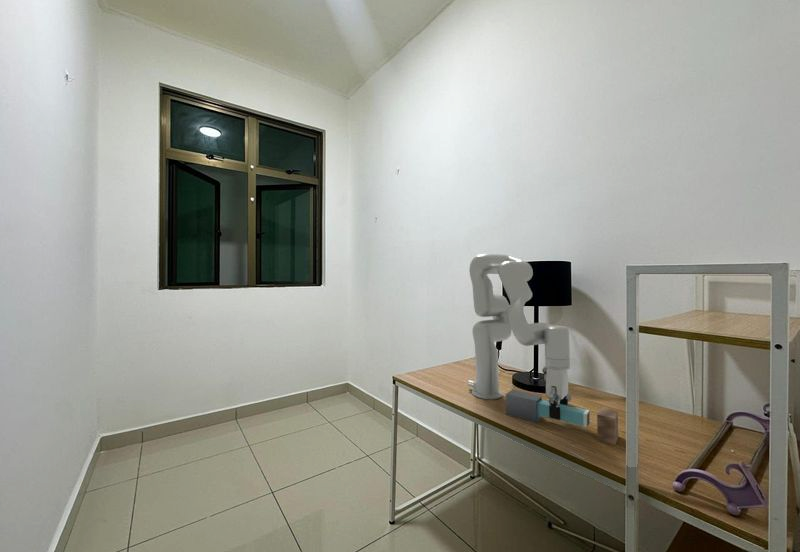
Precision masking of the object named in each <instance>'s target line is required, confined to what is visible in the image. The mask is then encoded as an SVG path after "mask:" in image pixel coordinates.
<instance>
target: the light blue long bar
mask: <svg viewBox="0 0 800 552" xmlns="http://www.w3.org/2000/svg"><path fill="white" fill-rule="evenodd" d="M559 407H560V420H559V421H561V422H564V423H569V424H571V425H572V424H573V425H576V426H580V427H584V428H588V427H589V426H590V422H591V420H590V419H591V418H590V415H591V414H590V410H589V409H583V408H580V407H575V406H570V405H568V406H567V405H562V404H559ZM537 415H540V416H542V417H544V418H549V419H551V418H550V417H549V400H544V399H542V400H538V401H537ZM555 420H557V419H555ZM557 421H558V420H557Z"/></svg>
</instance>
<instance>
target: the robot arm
mask: <svg viewBox="0 0 800 552" xmlns="http://www.w3.org/2000/svg"><path fill="white" fill-rule="evenodd" d="M488 275H498V278H499V279H500V281H501V283H502V286H503V288H504V291H505V293H506V295H507V297H508V299H509V301H508V300H507V297H505V296H504V295H501V294H495V293H494V287H493V283H492V280H491V279H490V277H489V276H488ZM533 275H534V272H533V268H532V266H531V264H530V263H529V262H527V261H526V260H522V259H520V258H516V257H513V256H512V255H508V254H499V253H497V254H496V253H482V254H477V255H476V256H475V257H473V258H472V260H471V261H470V265H469V276H470V281H471V285H472V296H473V297H472V299H473V308H474V312H475V315H476V316H478V317H482V318H486V317H487V318H489V317H492V319H485V320H483V319H482V320H480V321H477V322H476V323H475V324H474V325H473V327H472V336H473V337H472V338H473V342H474V355H475V356H474V358H475V360H474V361H475V366H474V367H475V368H474V369H475V381H473V380H471V379H470V380H468V382H467V386H468V387H471V388H472V390H471V393H472V395H473V396H475V398H476V397H477V398H478V399H483V400H498V399H501V398H502V397H503V395H504V394H503V391H502V390H500V389H499V387H500V385H499V382H500V381H499V379H500V378H499V352H498V349H497V347H496V344H495V343H496V342H504V341H507V340H508V339H510V338H511V335H512V334H513V336H514V337H515V339H516V340H517V342H518V343H519V344H520V345H522V346H526V347H530V346H538V345H544V367H547V373H546V381H545V397H546V398H548V399H549V400H548V401H549V417H550V418H549V419H552V420H556V419H557V421H560V407H559V404H562V405H567V406H569V402H568V399H567V393H568V392H569V376H568V370H570V369H571V357H570V356H571V353H570V330H569V328H568V327H567V326H564V325H557V324H556V325H555V324H554V325H553V324H549V323H546V322H533V323H528V320H527V319H526V318H527V317H526V315H525V312H524V310H525V309H524V308H525V304H526V302H528V301H530V300H531V299H532V298H533V292H532V290H531V288H530V286H529V284H528V282H529V281H530V280H531V279H532V277H533ZM509 302H510V303H509ZM554 396H556V397H554ZM555 400H557V403H556V401H555Z"/></svg>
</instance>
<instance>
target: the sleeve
mask: <svg viewBox="0 0 800 552" xmlns="http://www.w3.org/2000/svg"><path fill="white" fill-rule="evenodd" d="M538 400H543V396H542V395H540V394H536V393H532V392H531V393H530V392H526V391H522V390H517V389H510V390H508V392H506V393H505V415H506V416H509V417H512V418H517V419H519V418H520V420H524V421H527V422H530V423H535V424H537V423H538V422H539V421H540V420H541V419H542V418H543V416H540V415H537V401H538Z"/></svg>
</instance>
